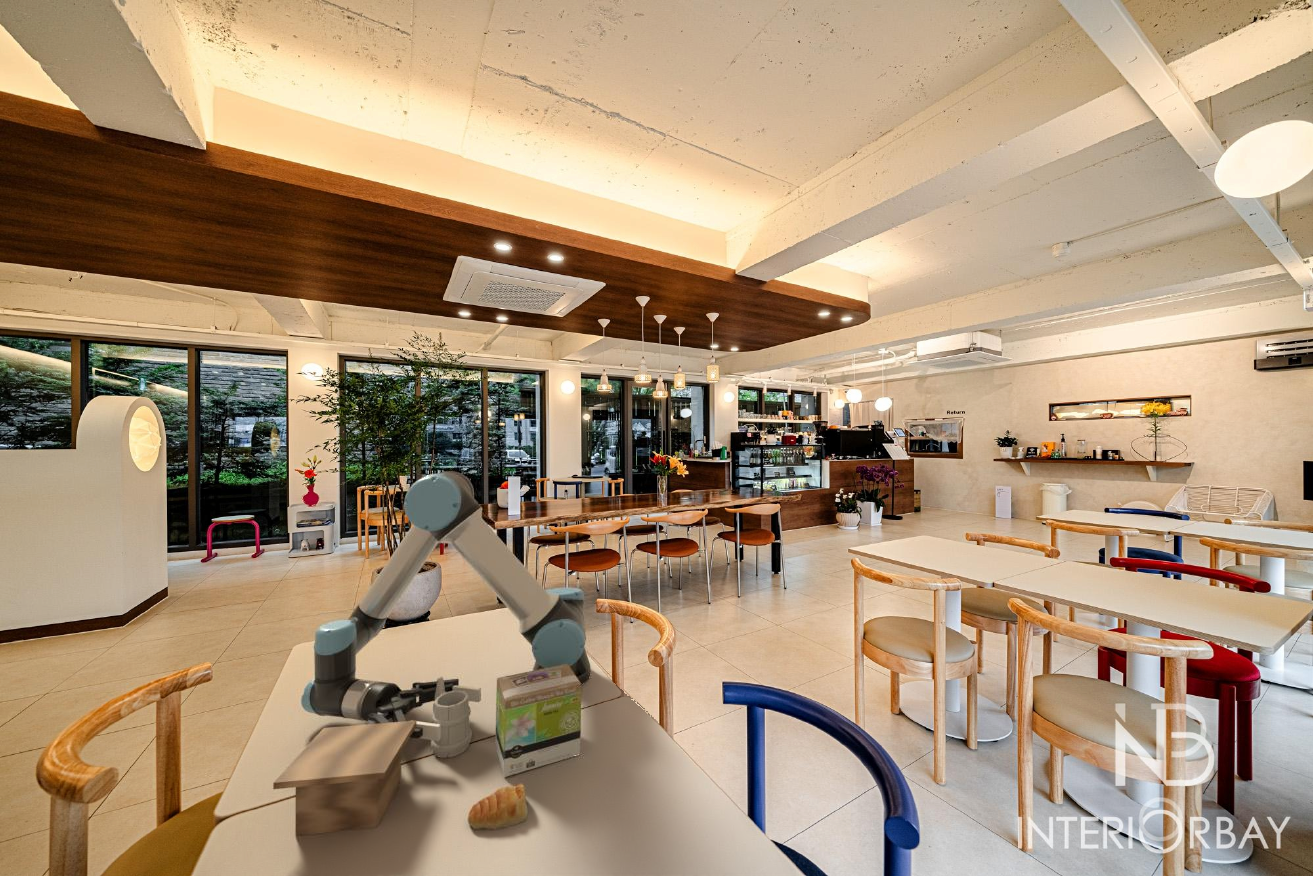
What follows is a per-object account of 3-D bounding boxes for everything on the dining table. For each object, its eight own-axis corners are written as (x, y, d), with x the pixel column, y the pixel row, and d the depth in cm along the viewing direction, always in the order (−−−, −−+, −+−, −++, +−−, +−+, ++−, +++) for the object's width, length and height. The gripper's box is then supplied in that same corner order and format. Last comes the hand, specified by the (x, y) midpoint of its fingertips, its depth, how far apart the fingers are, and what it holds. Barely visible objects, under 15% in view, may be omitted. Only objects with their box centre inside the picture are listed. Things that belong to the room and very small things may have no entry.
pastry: (468, 842, 74) (468, 817, 74) (467, 811, 80) (467, 789, 80) (529, 823, 78) (529, 799, 78) (524, 795, 84) (524, 773, 84)
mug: (440, 764, 91) (440, 702, 91) (417, 738, 100) (417, 681, 100) (478, 746, 97) (478, 687, 97) (453, 722, 105) (453, 668, 105)
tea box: (503, 781, 87) (503, 700, 87) (495, 749, 96) (495, 676, 96) (582, 756, 94) (582, 681, 94) (567, 728, 103) (567, 660, 103)
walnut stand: (416, 773, 89) (416, 720, 89) (384, 835, 75) (384, 772, 75) (323, 782, 87) (323, 727, 87) (273, 848, 73) (273, 782, 73)
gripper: (414, 688, 114) (493, 698, 110) (321, 756, 90) (418, 772, 85) (414, 657, 114) (493, 666, 110) (321, 716, 90) (418, 731, 85)
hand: (461, 712), depth 98 cm, fingers open, 13 cm apart
